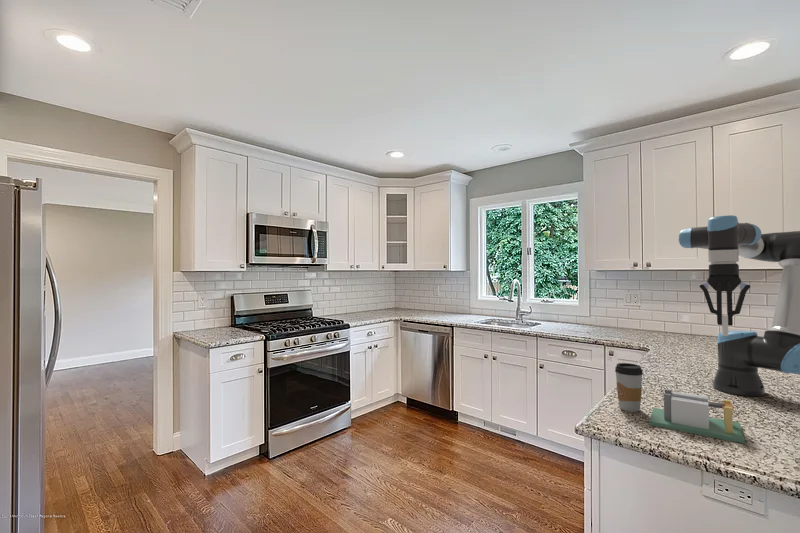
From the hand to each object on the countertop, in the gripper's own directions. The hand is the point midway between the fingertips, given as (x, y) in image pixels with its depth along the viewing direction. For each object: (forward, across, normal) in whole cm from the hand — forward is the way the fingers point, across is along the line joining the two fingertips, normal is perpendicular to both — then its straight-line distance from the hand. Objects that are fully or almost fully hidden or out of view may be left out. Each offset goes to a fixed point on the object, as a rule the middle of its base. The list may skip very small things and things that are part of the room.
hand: (725, 335), depth 124 cm
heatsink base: (+26, +8, +15) cm, 32 cm away
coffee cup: (+27, +26, +10) cm, 39 cm away
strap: (+20, +7, +15) cm, 26 cm away
